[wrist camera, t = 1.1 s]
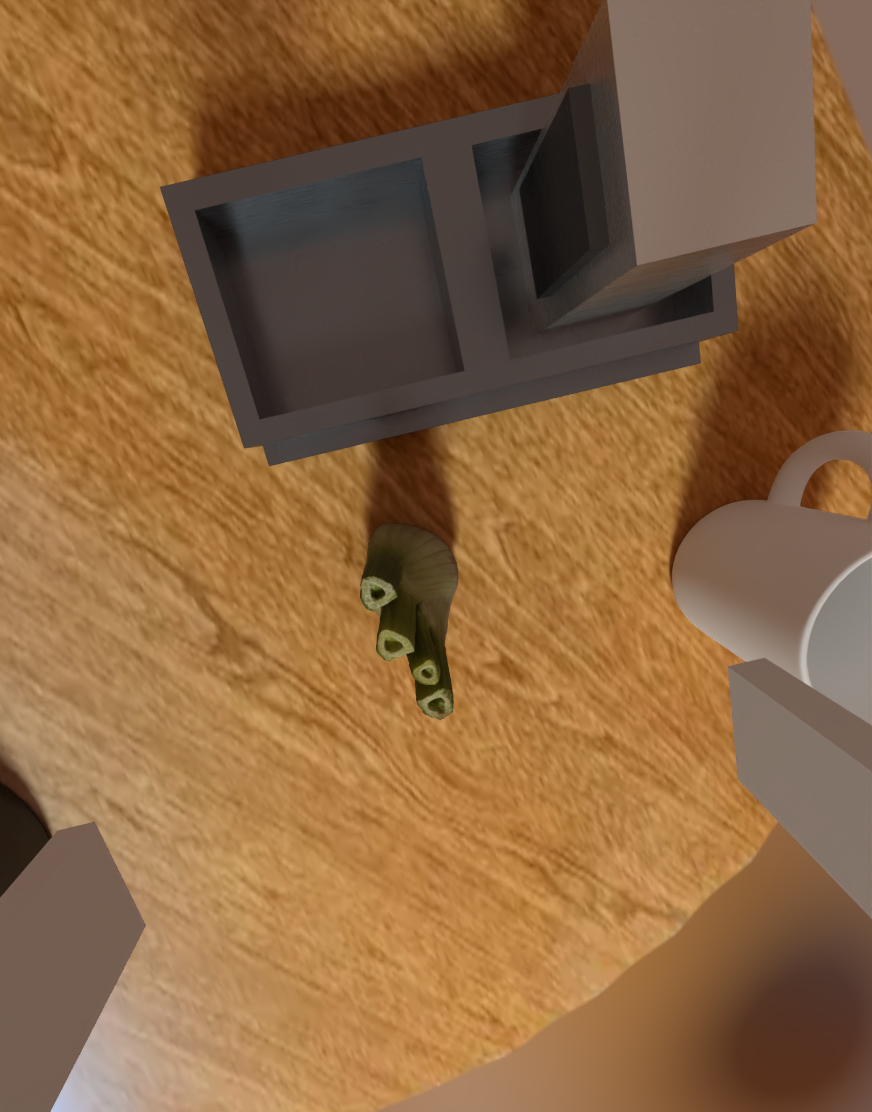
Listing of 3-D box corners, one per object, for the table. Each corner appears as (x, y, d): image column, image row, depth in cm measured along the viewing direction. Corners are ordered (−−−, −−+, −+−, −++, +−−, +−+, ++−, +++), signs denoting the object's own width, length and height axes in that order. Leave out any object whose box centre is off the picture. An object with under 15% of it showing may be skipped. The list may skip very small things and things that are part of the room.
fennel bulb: (365, 513, 27) (338, 575, 16) (455, 513, 28) (494, 575, 16) (367, 613, 29) (343, 739, 17) (452, 612, 29) (487, 735, 17)
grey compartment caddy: (276, 464, 26) (169, 494, 14) (197, 207, 23) (-25, -32, 11) (684, 366, 26) (922, 315, 14) (658, 99, 23) (933, -252, 11)
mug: (700, 420, 27) (872, 416, 17) (841, 438, 28) (1083, 444, 18) (652, 627, 30) (775, 725, 20) (780, 638, 31) (961, 739, 21)
